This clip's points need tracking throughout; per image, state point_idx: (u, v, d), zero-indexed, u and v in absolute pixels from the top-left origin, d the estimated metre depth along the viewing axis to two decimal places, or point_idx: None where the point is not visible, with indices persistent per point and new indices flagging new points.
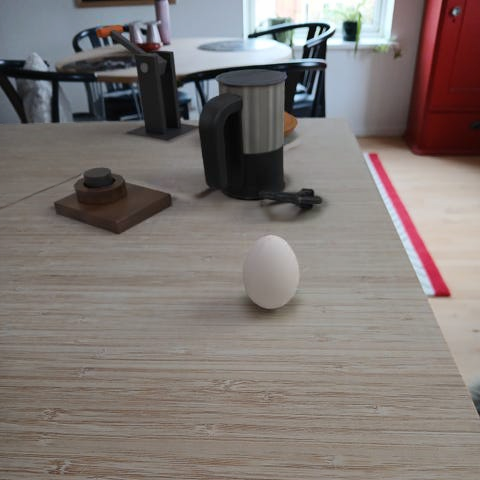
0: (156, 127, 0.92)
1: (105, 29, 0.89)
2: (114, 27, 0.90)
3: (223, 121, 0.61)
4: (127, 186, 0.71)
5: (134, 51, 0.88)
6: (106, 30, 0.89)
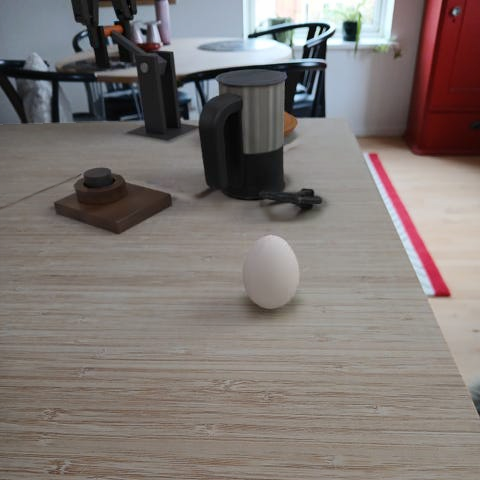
0: (156, 127, 0.92)
1: (105, 29, 0.89)
2: (114, 27, 0.90)
3: (223, 121, 0.61)
4: (127, 186, 0.71)
5: (134, 51, 0.88)
6: (106, 30, 0.89)
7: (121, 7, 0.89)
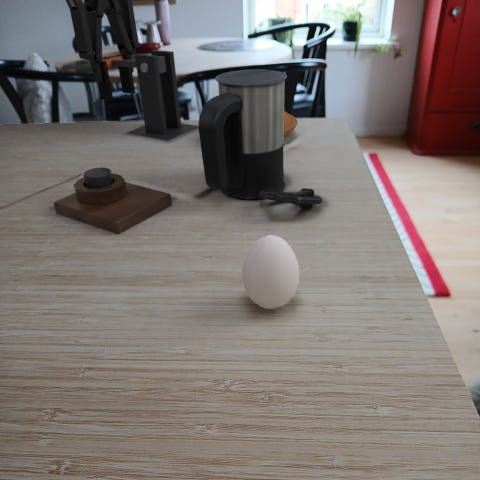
0: (156, 127, 0.92)
1: (105, 60, 0.92)
2: (114, 57, 0.93)
3: (223, 121, 0.61)
4: (127, 186, 0.71)
5: (134, 64, 0.90)
6: (106, 60, 0.92)
7: (123, 42, 0.93)
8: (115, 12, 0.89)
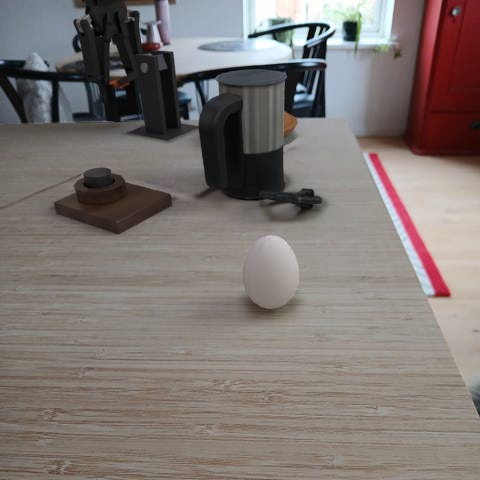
0: (156, 127, 0.92)
1: (111, 81, 0.94)
2: None
3: (223, 121, 0.61)
4: (127, 186, 0.71)
5: None
6: (112, 81, 0.94)
7: (130, 65, 0.95)
8: (122, 36, 0.91)
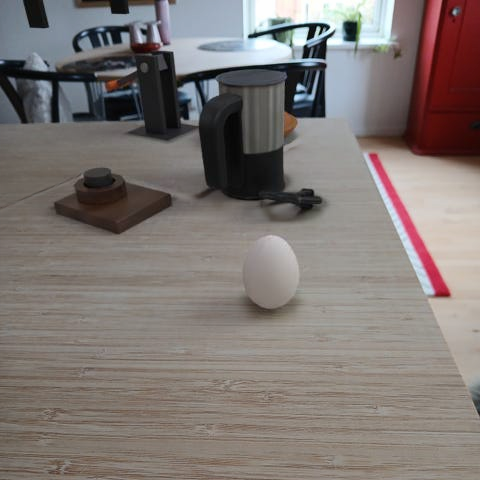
0: (156, 127, 0.92)
1: (111, 81, 0.94)
2: (119, 79, 0.95)
3: (223, 121, 0.61)
4: (127, 186, 0.71)
5: None
6: (112, 81, 0.94)
7: None
8: None
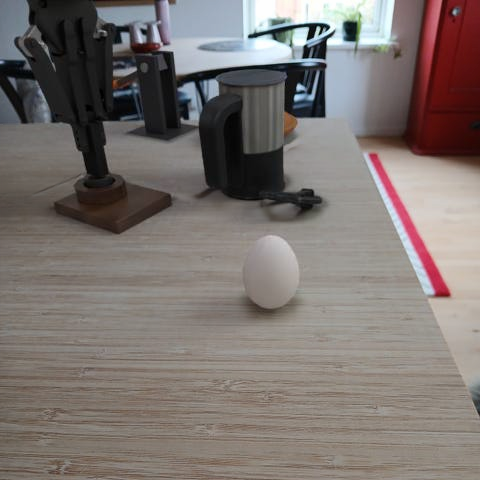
0: (156, 127, 0.92)
1: None
2: (119, 79, 0.95)
3: (223, 121, 0.61)
4: (127, 186, 0.71)
5: None
6: None
7: (92, 102, 0.62)
8: (84, 56, 0.59)
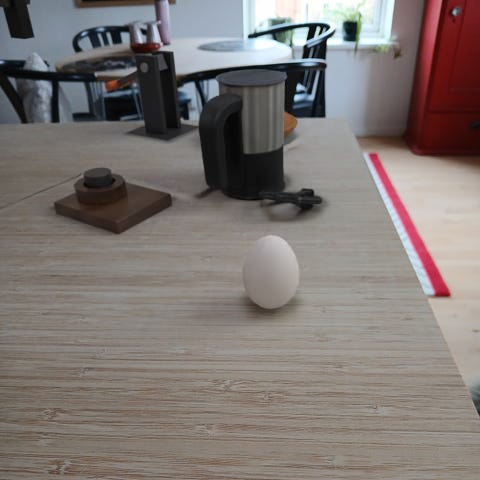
0: (156, 127, 0.92)
1: (111, 81, 0.94)
2: (119, 79, 0.95)
3: (223, 121, 0.61)
4: (127, 186, 0.71)
5: None
6: (112, 81, 0.94)
7: None
8: None
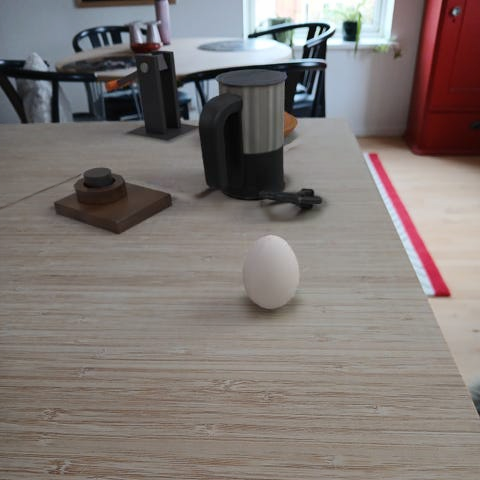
0: (156, 127, 0.92)
1: (111, 81, 0.94)
2: (119, 79, 0.95)
3: (223, 121, 0.61)
4: (127, 186, 0.71)
5: None
6: (112, 81, 0.94)
7: None
8: None
